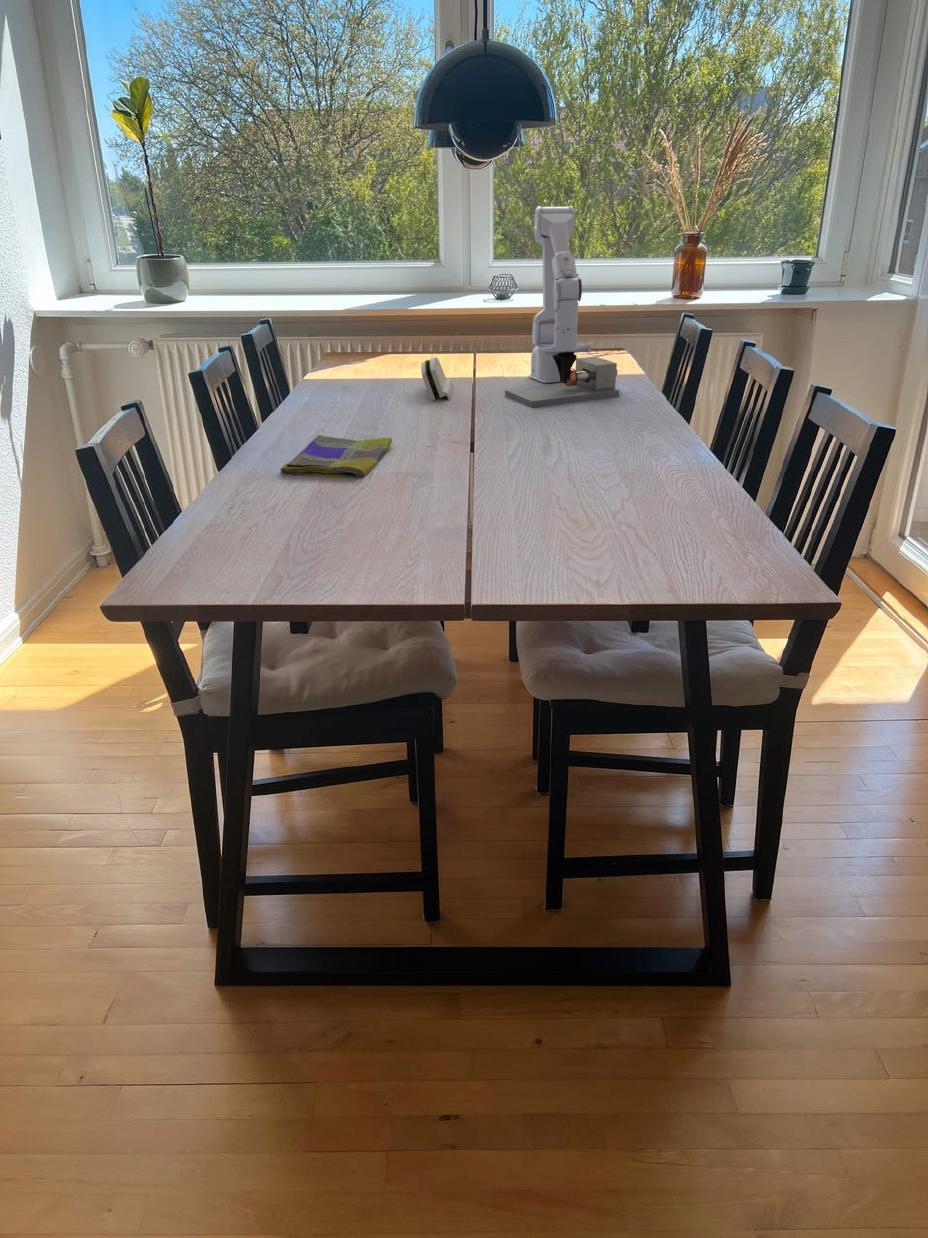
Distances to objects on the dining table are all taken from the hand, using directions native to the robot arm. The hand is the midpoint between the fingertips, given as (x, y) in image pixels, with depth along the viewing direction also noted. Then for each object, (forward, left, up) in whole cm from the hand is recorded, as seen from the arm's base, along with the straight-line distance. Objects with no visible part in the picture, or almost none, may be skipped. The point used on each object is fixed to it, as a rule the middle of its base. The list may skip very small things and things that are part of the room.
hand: (563, 382), depth 240 cm
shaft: (0, +8, -1) cm, 9 cm away
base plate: (0, 0, -3) cm, 3 cm away
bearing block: (0, +10, -2) cm, 10 cm away
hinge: (-18, -28, -4) cm, 33 cm away
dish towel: (+27, -70, -4) cm, 75 cm away
